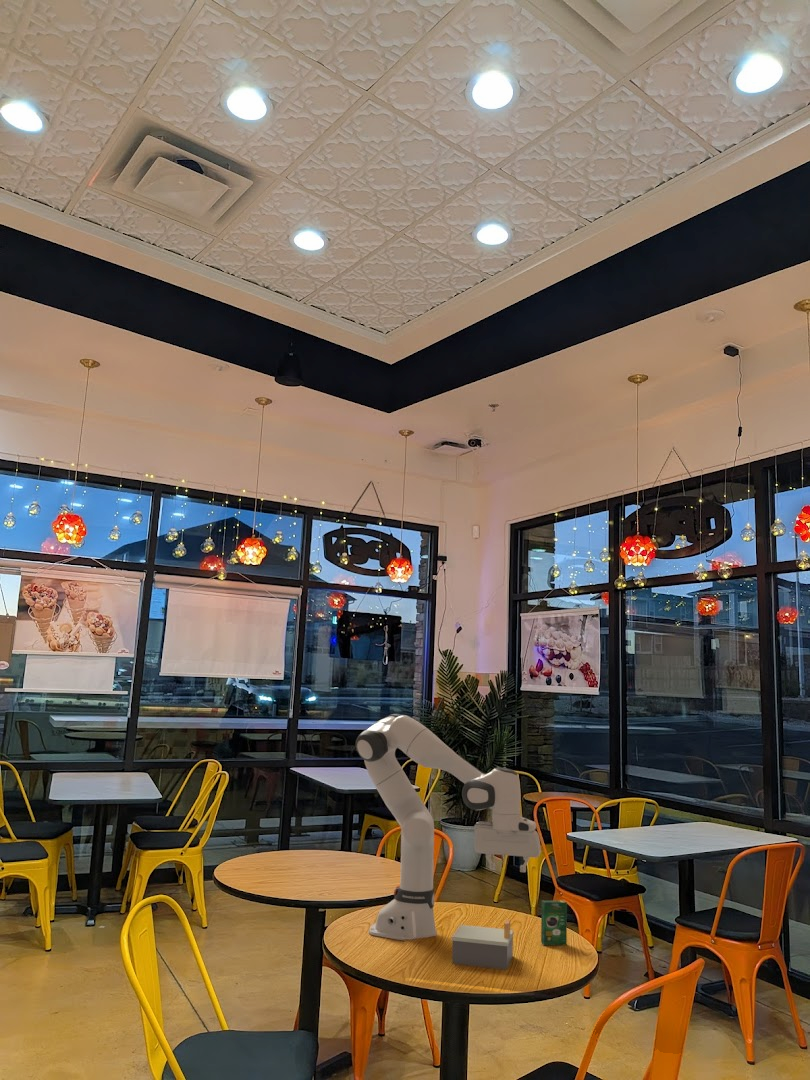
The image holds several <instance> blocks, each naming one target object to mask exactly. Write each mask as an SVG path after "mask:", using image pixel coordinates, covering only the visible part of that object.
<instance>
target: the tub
mask: <svg viewBox="0 0 810 1080" xmlns="http://www.w3.org/2000/svg"><path fill="white" fill-rule="evenodd" d="M513 938H514V937H513V936H512V938H511V940H510V943H509V945H508V946H499V945H489V944H480V943H471V942H462V941H453V940H452V959H451V961H452V965H453V964H454V965H461V966H462V965H463V966H469V967H470V966H472V967H480V968H488V969H496V970H504V971H508V968H509V966H510V964H511V961H512V958H513V957H514V953H513V951H514V950H513V948H514V947H513V946H514V945H513V944H514V942H513V941H514V939H513Z"/></svg>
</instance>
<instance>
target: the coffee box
mask: <svg viewBox="0 0 810 1080" xmlns="http://www.w3.org/2000/svg"><path fill="white" fill-rule="evenodd" d="M567 914H568V904H567V901H565V900H541V922H540V924H541V926H540V927H541V928H540V929H541V930H540V931H541V932H540V933H541V936H540V938H541V939H540V942H541V943H542V944H541V945H542V946H548V945H550V946H567V941H568V939H567V938H568V937H567V935H568V933H567V932H568V929H567V926H568V925H567V921H568V919H567V918H568V915H567Z"/></svg>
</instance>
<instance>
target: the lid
mask: <svg viewBox="0 0 810 1080" xmlns="http://www.w3.org/2000/svg"><path fill="white" fill-rule="evenodd" d="M513 935H514V930H513V929H511V919H510V918H506V919H505V921H504V922H503V928H497V927H486V926H478V925H477V926H476V925H466V924H460V925H459V926H458V928H457V929H456V930H455V932H454V933H453V934H452V936H451V941H452V942H453V941H462V942H471V943H480V944H489V945H499V946H508V945H509V943H510V940H511V938H512V936H513Z"/></svg>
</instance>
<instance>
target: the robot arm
mask: <svg viewBox="0 0 810 1080" xmlns="http://www.w3.org/2000/svg"><path fill="white" fill-rule="evenodd" d="M355 748H356V749H355V750H356V752H357V754H358V755H359V757H360V758H361V759H362V760H364V765H365V768H366V770H367V773H368V775H369V778H370V779H371V782H372V784H373V785H374V786H375V788H376V790H377V792H378V794H379V795H380V797H381V799H382V801H383V802H384V804H385V806H386V807H387V809H388V810H389V811H390V813H391V814H392V816H393V818H395V820H396V822H397V823H398V825H399V826H400V828H401V829H400V831H401V832H400V840H401V841H400V878H399V879H400V880H399V881H400V882H399V883H400V884H399V885H397V886H396V887H395V889H394V890H393V896H394V898H393V899H392V900H391V901H390V902H388V903H387V904H385V906H383V907H382V908H381V909H380V910H379V912H378V913H377V917H376V922H375V923H373V924H372V925H371V926H370V927H369V930H368V933H369V934H370V935H371V936H376V937H381V938H387V939H392V940H399V941H403V942H405V940H409V941H410V940H416V939H425V938H430V937H437V935H438V933H437V927H436V922H435V914H434V905H435V897H436V896H435V888H434V862H435V861H434V854H435V849H434V848H435V821H434V818H433V816H432V814H431V813H430V811H429V809H428V808H427V807H426V805H425V803H424V801H423V800H422V798H421V797H420V795H419V793H418V792H417V791H416V790H415V788H414V786H413V785H412V783H411V781H410V779H409V778H408V776H407V775H406V773H405V771H404V769H403V768H402V766H401V765H400V763H399V761H398V759H397V757H396V750H397V749H399V750H400V751H402V752H403V754H405V755H406V756H407V757H408V758H409V759H411V760H412V761H413V762H415V763H416V764H418V765H419V766H422V767H423V768H427V769H428V768H429V769H437V770H441V771H445V772H446V773H448V774H451V775H452V776H454V777H455V778H456V779H458V781H460V782H461V783H463V786H462V790H461V796H462V801H463V803H464V804H465V806H466V807H467V808H468V809H471V810H474V811H482V810H486V809H491V811H492V812H491V813H492V814H491V817H492V818H491V819H492V820H491V821H482V820H480V821H478V822H476V823H475V824H474V827H473V832H474V833H473V834H474V835H475V836H474V845H473V847H474V851H475V853H477V854H485V859H486V861H487V862H488V865H489V870H491V871H495V870H496V862H493V860H492V856H493V855H497V856H509V857H510V856H513V857H522V858H523V861H524V863H523V864H520V866H519V872H520V873H526V872H527V867H526V866H527V865H528V863H529V861H530V858H538V857H540V855H541V853H542V849H541V839H540V836H539V833H538V831H536V829H537V823H536V822H535V821H533V820H531V819H528V818H526V817H523V816H522V811H521V808H520V807H521V806H520V802H521V800H522V799H521V796H522V795H521V782H520V778H519V774H518V772H516V771H515V770H513V769H511V768H507V767H501V766H500V767H498V766H497V767H494V768H493V769H492V770H491V771H489V772H488V773H486V772H483V771H481V770H480V769H478V768H477V767H475V766H474V765H473V764H471V763H470V762H469V761H467V760H466V759H465V758H463V757H462V756H461V755H459V754H457V752H455V751H454V750H453V749H452V748H451V747H449V746H448V745H447V744H446V743H444V741H442V740H441V739H440V738H439V737H438V736H437V735H436V734H435V733H434V732H432V731H431V730H430V729H429V728H428V727H426V726H425V725H423V724H422V723H421V722H420V721H417V720H416V719H414V718H412V717H411V716H409V715H406V714H401V713H393V714H389V715H387V716H386V717H384V718H382V719H380V720H378V721H376V722H375V723H373V724H372V725H371V726H369V728H367V729H366V730H363V731H362V732H361V733H360V734H359V735H358V736H357V738H356V740H355Z"/></svg>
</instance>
